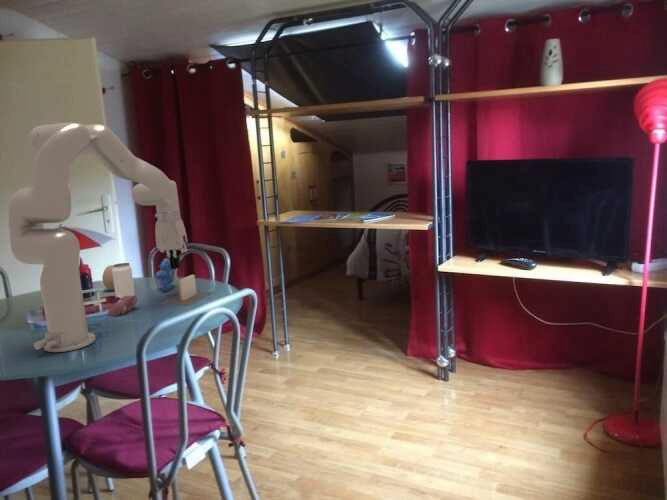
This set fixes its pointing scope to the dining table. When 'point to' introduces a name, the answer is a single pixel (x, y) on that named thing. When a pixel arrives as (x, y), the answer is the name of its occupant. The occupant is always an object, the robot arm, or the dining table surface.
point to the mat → (189, 301)
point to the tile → (187, 287)
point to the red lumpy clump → (123, 305)
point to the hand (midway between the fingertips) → (175, 268)
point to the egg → (108, 278)
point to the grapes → (165, 275)
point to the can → (123, 280)
